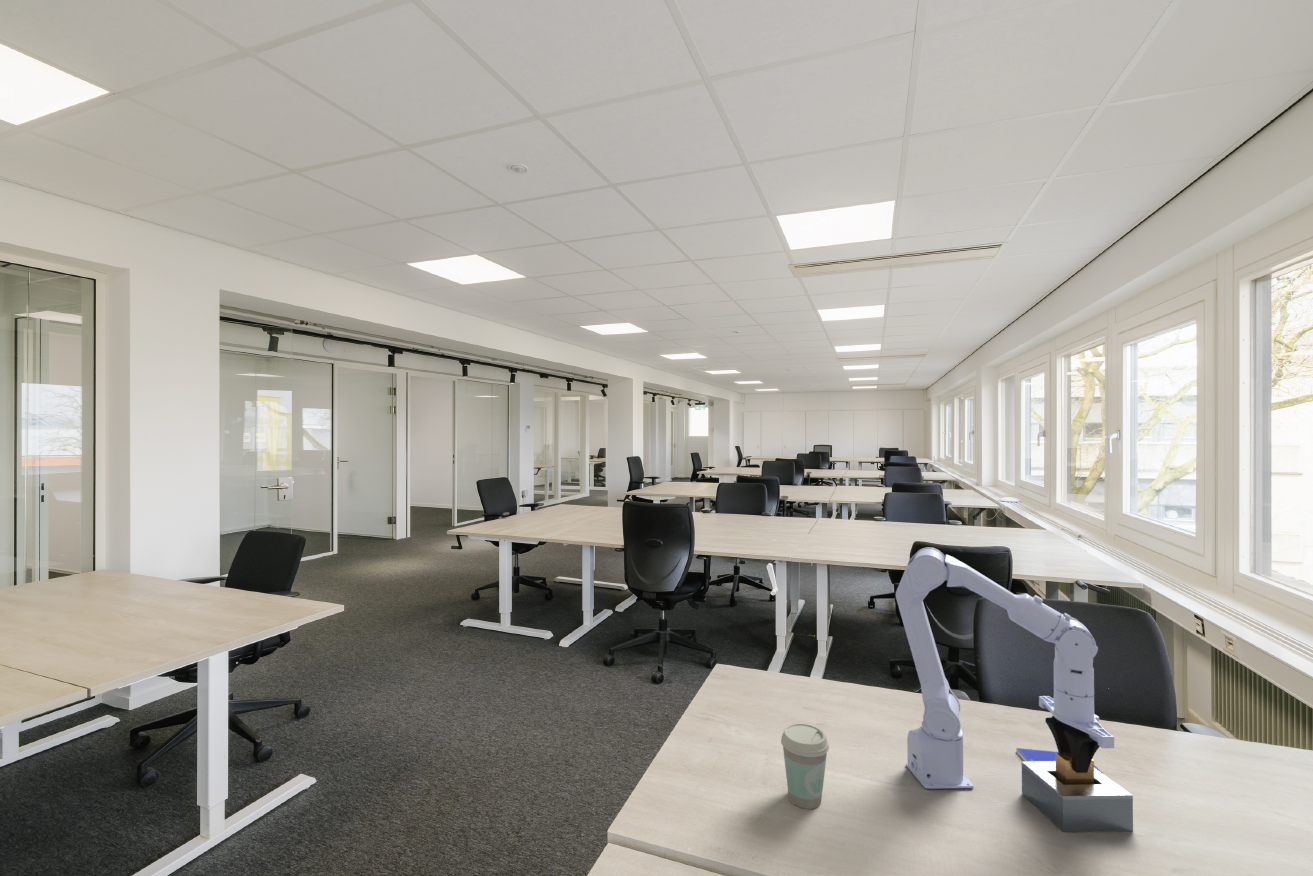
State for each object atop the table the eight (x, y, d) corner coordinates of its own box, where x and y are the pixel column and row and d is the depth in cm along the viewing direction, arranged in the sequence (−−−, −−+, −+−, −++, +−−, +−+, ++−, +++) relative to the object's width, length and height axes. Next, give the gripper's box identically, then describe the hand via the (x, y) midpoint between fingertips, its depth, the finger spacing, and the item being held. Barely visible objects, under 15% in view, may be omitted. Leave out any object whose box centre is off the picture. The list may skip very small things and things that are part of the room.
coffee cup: (803, 820, 94) (803, 750, 94) (771, 792, 102) (771, 728, 102) (839, 805, 98) (839, 738, 98) (806, 779, 106) (805, 717, 106)
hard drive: (1035, 769, 107) (1106, 776, 105) (1016, 746, 115) (1081, 752, 113) (1036, 777, 107) (1106, 784, 105) (1016, 754, 115) (1081, 760, 113)
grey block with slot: (1063, 832, 91) (1062, 796, 91) (1021, 793, 101) (1021, 761, 101) (1133, 831, 91) (1132, 795, 91) (1084, 792, 101) (1084, 760, 101)
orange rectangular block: (1066, 786, 95) (1066, 760, 95) (1055, 778, 98) (1055, 752, 98) (1094, 786, 95) (1093, 760, 95) (1083, 777, 98) (1082, 752, 98)
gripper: (1132, 709, 89) (1132, 792, 89) (1064, 672, 104) (1064, 743, 104) (1090, 710, 89) (1090, 793, 89) (1027, 673, 104) (1028, 744, 104)
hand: (1074, 766), depth 96 cm, fingers closed on orange rectangular block, 2 cm apart
